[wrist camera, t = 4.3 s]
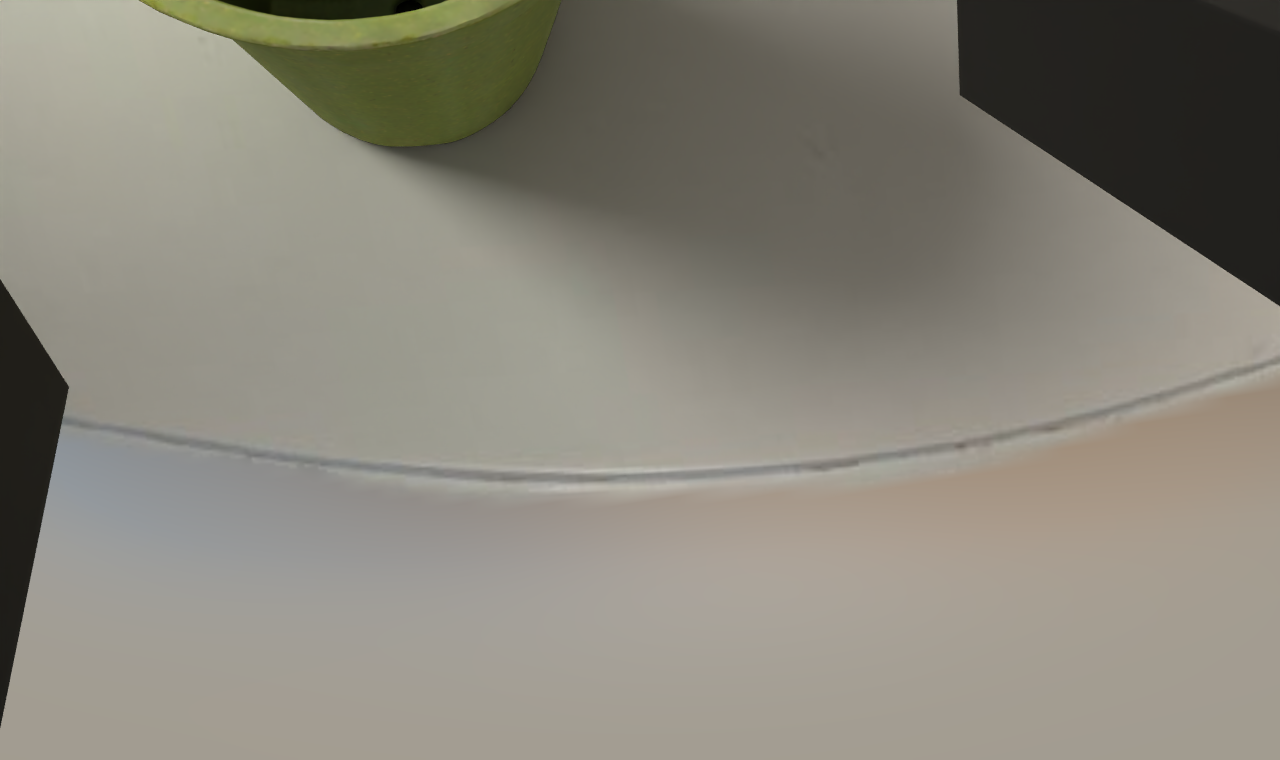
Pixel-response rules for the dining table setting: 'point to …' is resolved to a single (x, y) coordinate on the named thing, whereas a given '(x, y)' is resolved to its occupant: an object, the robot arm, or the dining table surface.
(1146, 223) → the dining table surface
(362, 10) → the plant pot
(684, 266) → the dining table surface
